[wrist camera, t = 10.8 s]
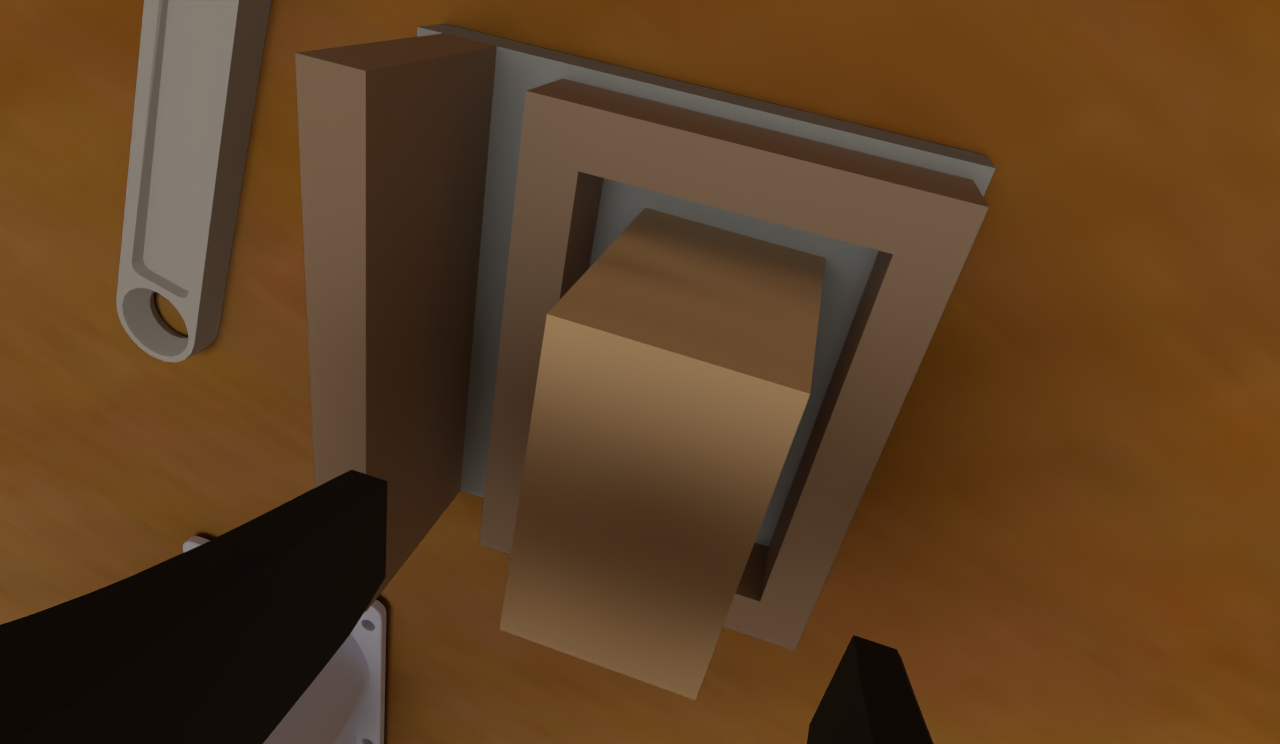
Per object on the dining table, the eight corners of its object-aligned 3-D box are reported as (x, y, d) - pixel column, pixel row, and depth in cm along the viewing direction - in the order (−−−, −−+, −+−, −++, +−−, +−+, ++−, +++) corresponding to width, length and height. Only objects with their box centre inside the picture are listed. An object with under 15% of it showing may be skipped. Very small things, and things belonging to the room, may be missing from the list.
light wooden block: (738, 507, 19) (695, 700, 14) (592, 460, 20) (499, 629, 15) (825, 257, 16) (810, 393, 11) (645, 207, 16) (547, 314, 11)
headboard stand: (810, 574, 21) (794, 765, 16) (423, 449, 23) (296, 587, 18) (986, 155, 15) (1052, 246, 10) (444, 23, 17) (260, 44, 12)
